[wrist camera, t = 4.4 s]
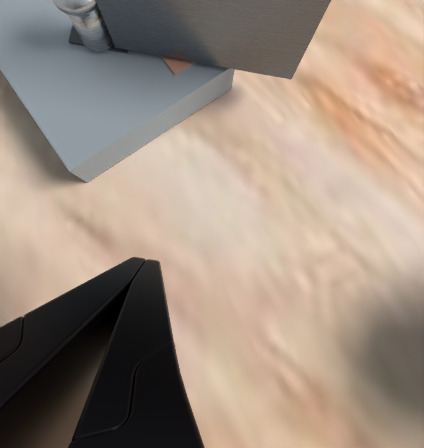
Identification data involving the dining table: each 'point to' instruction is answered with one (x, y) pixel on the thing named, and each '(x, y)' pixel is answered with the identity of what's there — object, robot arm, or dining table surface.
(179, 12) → the gray pivoting panel
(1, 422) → the robot arm
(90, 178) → the gray square base
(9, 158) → the dining table surface
